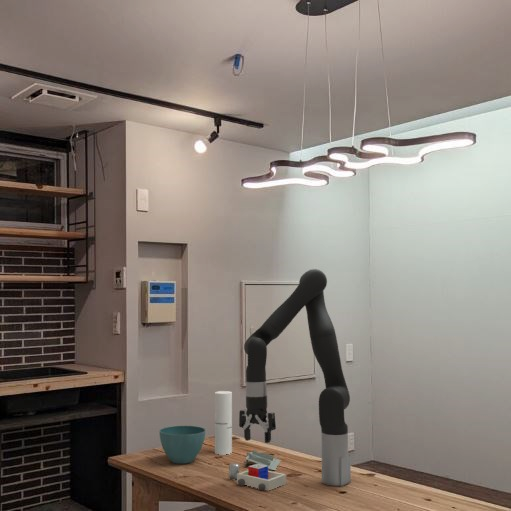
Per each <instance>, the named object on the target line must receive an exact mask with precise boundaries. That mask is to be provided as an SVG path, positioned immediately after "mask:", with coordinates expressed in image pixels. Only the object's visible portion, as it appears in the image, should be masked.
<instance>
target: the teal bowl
mask: <svg viewBox="0 0 511 511" xmlns="http://www.w3.org/2000/svg"><path fill="white" fill-rule="evenodd" d="M205 438H206V428H204V427H201V426H197V425H172V426H167V427H166V426H165V427H163V428H160V429H159V439H160V444H161V447H162V449H163V451H164V453H165V455H166V456H167V458H168V459H169V461H170V462H171V463H173V464H178V465H181V464H182V465H183V464H184V465H185V464H190V463H192V462H194V461H195V459H196V458H197V456H198V455H199V453H200V452H201V450H202V447H203V444H204V441H205Z"/></svg>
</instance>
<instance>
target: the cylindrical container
mask: <svg viewBox="0 0 511 511" xmlns="http://www.w3.org/2000/svg"><path fill="white" fill-rule="evenodd" d="M230 453H232V454H233V392H232V391H228V390H227V391H226V390H219V391H215V392H214V454H215V455H217V454H219V455H218V456H227V455H226V454H229V455H231V454H230Z"/></svg>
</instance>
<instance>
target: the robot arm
mask: <svg viewBox="0 0 511 511" xmlns="http://www.w3.org/2000/svg"><path fill="white" fill-rule="evenodd" d="M298 282H299V283H298V285H297V287H296V288H295V289H294V291H293V292H292V293H291V294H290V295H289V296H288V298H286V299H285V301H284V302H282V303H281V304H280V305H279V306H278V307H277V308H276V309H275V310H274V311H273V312H272V313H271V314H270V315H269V317H268V318H266V320H265V321H264V322H263V324H261V326H260V327H259V328H258V329H256V330H255V331H254V332H253V333H252V334H251V335H250V336H249V337H248V338H247V339H246V340H245V342H244V345H243V349H244V352H245V353H246V355H247V366H246V368H245V381H246V382H245V409H241V410H239V413H238V415H239V416H238V417H239V418H238V419H239V420H238V426H239V428H242V429H243V434H244V435H243V436H244V441H247V442H248V441H251V439H252V438H251V437H252V436H251V429H250V428H251V427H252V425H255V424H256V425H259V426H260V427H261V428H262V429H263V430H264V443H265V444H269V443H271V441H272V432H273V431H274V430H276V429H277V427H276V426H277V425H276V413H275V412H274V411H272V412H268V411H267V408H268V386H267V371H266V366H267V356H268V354H267V353H268V348H267V347H268V345H269V344H270V343H271V342H272V341H273V340H276V339H277V338H278V337H279V336H280V335H281V334H282V333H283V331H285V329H286V328H287V327H288V326H289V325H290V324H291V322H292V321H293V319H294V318H295V317H297V315H298V314H299V313H300V312H301V310H302V309H303V308H304V307H305V311H306V315H307V316H306V317H307V318H306V319H307V326H308V332H309V338H310V343H311V348H312V352H313V354H314V357H315V359H316V361H317V363H318V364H319V367H320V369H321V371H322V374H323V378H324V385H325V388H323V389H322V391H321V392H320V393H319V397H318V419H319V420H318V421H319V425H320V428H321V434H320V435H321V483H322V484H324V485H327V486H337V487H338V486H339V487H343V486H345V485H348V484H350V483H351V482H352V481H351V477H352V476H351V475H352V474H351V472H352V470H351V465H352V464H351V454H349V437H348V436H349V433H348V432H349V425H348V424H347V423H346V421H345V410H346V409H347V408H348V407H349V404H350V401H351V397H350V392H349V388H348V385H347V383H346V382H347V381H346V379H345V375H344V372H343V367H342V361H341V356H340V352H339V351H340V350H339V345H338V339H337V338H338V337H337V334H336V330H335V327H334V324H333V322H332V319H331V316H330V314H329V313H328V309H327V306H326V302H325V300H326V299H325V294H324V290H325V289H326V288H327V284H328V280H327V276H326V274H325V272H323V271H322V270H320V269H317V268H313V269H309V270H307V271H305V272H304V273H303V274H302V275H301V276H300V278H299V281H298Z"/></svg>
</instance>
